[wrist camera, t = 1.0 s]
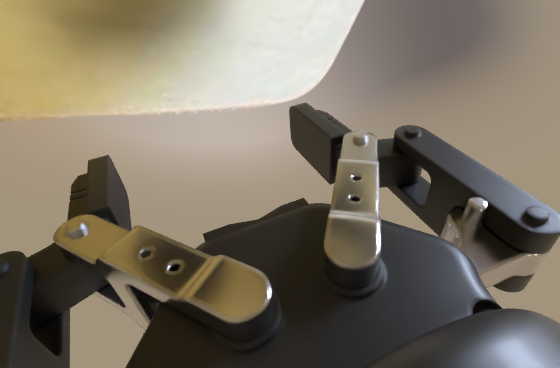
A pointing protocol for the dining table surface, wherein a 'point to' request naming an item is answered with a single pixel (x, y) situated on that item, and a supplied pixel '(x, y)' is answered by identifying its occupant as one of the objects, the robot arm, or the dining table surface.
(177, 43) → the dining table surface
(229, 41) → the dining table surface
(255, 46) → the dining table surface
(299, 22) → the dining table surface
